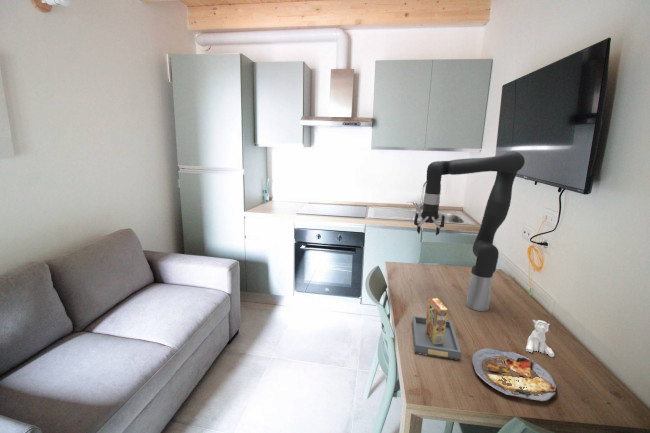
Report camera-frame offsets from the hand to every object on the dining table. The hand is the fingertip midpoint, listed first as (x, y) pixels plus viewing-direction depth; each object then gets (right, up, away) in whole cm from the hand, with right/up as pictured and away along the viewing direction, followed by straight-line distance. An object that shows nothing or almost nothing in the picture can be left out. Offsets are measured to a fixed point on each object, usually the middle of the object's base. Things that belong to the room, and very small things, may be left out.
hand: (427, 234), depth 155 cm
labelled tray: (-8, -41, -31) cm, 52 cm away
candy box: (-8, -40, -31) cm, 52 cm away
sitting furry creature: (+31, -43, -34) cm, 64 cm away
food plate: (+12, -47, -49) cm, 69 cm away
